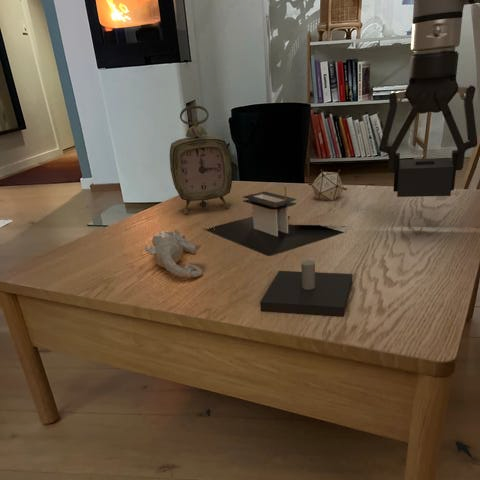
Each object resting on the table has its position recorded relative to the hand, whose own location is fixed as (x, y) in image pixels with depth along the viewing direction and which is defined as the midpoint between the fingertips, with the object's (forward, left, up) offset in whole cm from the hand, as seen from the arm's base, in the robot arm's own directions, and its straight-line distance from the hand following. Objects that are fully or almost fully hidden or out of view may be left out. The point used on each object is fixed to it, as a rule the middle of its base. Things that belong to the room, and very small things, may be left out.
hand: (422, 189), depth 89 cm
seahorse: (+43, +19, -9) cm, 48 cm away
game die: (+21, -26, -9) cm, 35 cm away
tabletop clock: (+52, -19, -9) cm, 57 cm away
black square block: (0, 0, 0) cm, 0 cm away
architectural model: (+30, -2, -9) cm, 32 cm away
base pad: (+16, +30, -9) cm, 35 cm away
